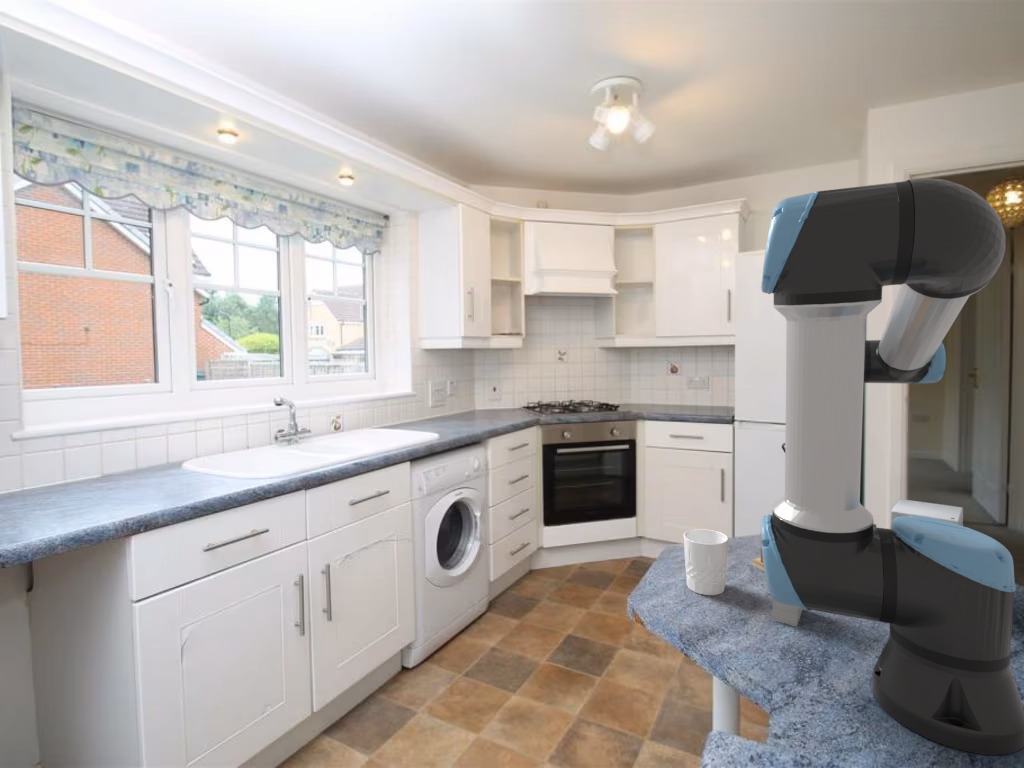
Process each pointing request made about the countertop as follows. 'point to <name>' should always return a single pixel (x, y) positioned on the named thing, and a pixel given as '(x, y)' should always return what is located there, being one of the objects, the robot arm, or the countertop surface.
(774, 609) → the grey upright block
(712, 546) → the white cup
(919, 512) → the supplement box
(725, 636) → the countertop surface
